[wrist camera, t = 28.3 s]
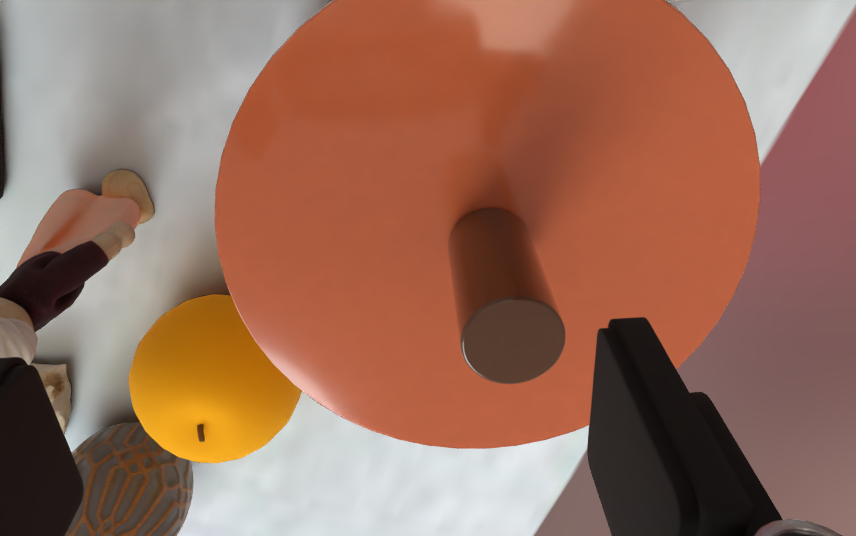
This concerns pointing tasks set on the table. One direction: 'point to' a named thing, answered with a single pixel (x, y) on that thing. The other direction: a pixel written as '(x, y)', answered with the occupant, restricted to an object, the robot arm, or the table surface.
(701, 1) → the table surface
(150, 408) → the apple
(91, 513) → the vase
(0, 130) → the cell phone
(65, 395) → the fossil
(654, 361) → the robot arm
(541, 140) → the lid
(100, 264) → the grandmother figurine
